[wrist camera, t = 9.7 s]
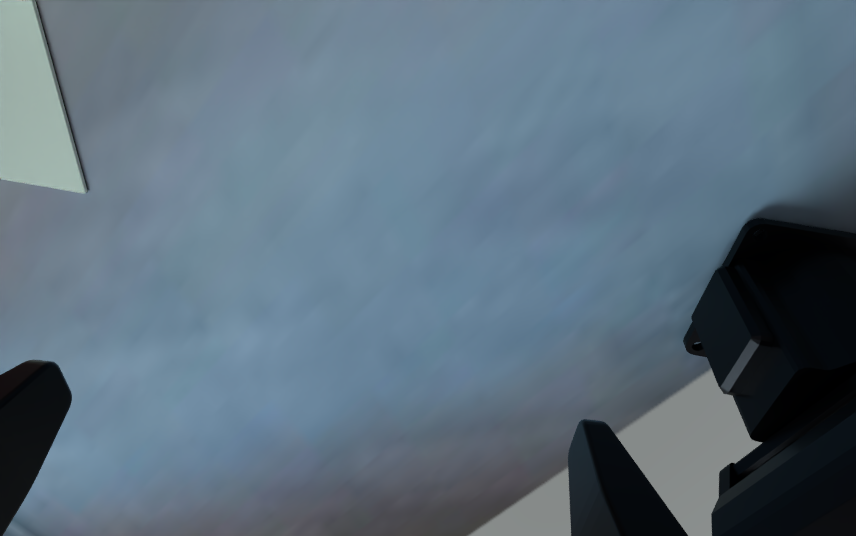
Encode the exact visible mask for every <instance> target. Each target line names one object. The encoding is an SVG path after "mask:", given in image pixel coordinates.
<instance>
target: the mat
mask: <svg viewBox="0 0 856 536" xmlns="http://www.w3.org/2000/svg"><path fill="white" fill-rule="evenodd" d="M0 179H3V180H9V181H15V182H20V183H26V184H32V185H38V186H43V187H49V188H55V189H61V190H67V191H72V192H78V193H84V194H86V193H87V192H88V191H87V187H86V184H85V180H84V176H83V173H82V169H81V165H80V162H79V158H78V154H77V151H76V147H75V144H74V140H73V136H72V133H71V129H70V125H69V122H68V118H67V114H66V111H65V107H64V103H63V100H62V96H61V93H60V89H59V85H58V82H57V78H56V74H55V71H54V67H53V63H52V60H51V56H50V52H49V49H48V45H47V41H46V38H45V34H44V31H43V27H42V23H41V20H40V16H39V12H38V9H37V5H36V1H35V0H26V1H17V0H0Z"/></svg>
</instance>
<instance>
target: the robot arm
mask: <svg viewBox="0 0 856 536" xmlns="http://www.w3.org/2000/svg"><path fill="white" fill-rule="evenodd" d="M758 230H763V232H762V233H761V234H760V235H758V236H753V234H754V233H755V232H756V231H758ZM692 321H693V322H692V324H691V326H690V328H689V329H688V331H687V333H686V335H685V337H684V340H683V342H684V345H685V348H686V350H687V352H689V353H690V354H693V355H698V356H703V357H707V358H708V361H709V363H710V366H711V368H712V371H713V373H714V376H715V378H716V381H717V383H718V386H719V387H720V389H721V390H722V391H723V393H724V394H729V395H733V397H734V400H735V402H736V405H737V407H738V409H739V412H740V414H741V416H742V419H743V421H744V423H745V426H746V428H747V431H748V433H749V435H750V437H751V439H752V440H755V441H758V442H763V443H762V444H761V445H759V446H758V447H757V448H755V449H754V450H753V451H752V452H750V453H749V454H748V455H746V456H745V457H743V458H742V459H741V460H740V461H738V462H737V463H736V464H735V463H730V464H729V465H727V466H726V467H725V468H724V469H722V470H721V471H720V473H719V499H718V501H717V503H716V505H715V508H714V510H713V512H712V536H856V234H853V233H847V232H841V231H835V230H829V229H823V228H817V227H811V226H805V225H799V224H793V223H787V222H781V221H775V220H769V219H763V218H756V219H753V220H750V221H749V222H747V223H746V224H745V225H744V226H743V228H742V229H741V231H740V233H739V235H738V237H737V239H736V241H735V243H734V245H733V246H732V248H731V250H730V252H729V254H728V256H727V258H726V260H725V262H724V263H723V265H722V266H721V267H720V268H718V269H717V270H716V271H715V273H714V274H713V276H712V278H711V280H710V282H709V284H708V286H707V288H706V290H705V292H704V294H703V295H702V297H701V299H700V301H699V303H698V305H697V307H696V309H695V311H694V313H693V314H692ZM696 342H701V343H699V344H694V343H696ZM71 401H72V394H71V391H70V389H69V387H68V384H67V382H66V380H65V378H64V376H63V374H62V372H61V370H60V368H59V366H58V365H57V364H56V363H54V362H51V361H42V360H29V361H26V362H24V363H22V364H20V365H18V366H16V367H14V368H12V369H11V370H9V371H7V372H5V373H3V374H1V375H0V536H3V534H4V532H5V531H6V529H7V527H8V526H9V524H10V522H11V521H12V519H13V517H14V516H15V514H16V513H17V511H18V509H19V508H20V506H21V504H22V503H23V501H24V499H25V497H26V496H27V494H28V492H29V490H30V489H31V487H32V485H33V483H34V481H35V479H36V477H37V475H38V473H39V471H40V469H41V467H42V465H43V462H44V460H45V458H46V456H47V454H48V452H49V450H50V448H51V446H52V444H53V441H54V439H55V437H56V435H57V433H58V431H59V429H60V427H61V425H62V423H63V420H64V418H65V416H66V414H67V412H68V410H69V408H70V405H71ZM568 470H569V491H570V514H571V536H688V535H687V533H686V532H685V531H684V530H683V528H682V527H681V525H680V524H679V523H678V521H677V520H676V518H675V517H674V516H673V514H672V513H671V512H670V510H669V509H668V508H667V506H666V504H665V503H664V502H663V500H662V499H661V498H660V496H659V495H658V494H657V492H656V491H655V489H654V488H653V487H652V485H651V484H650V482H649V481H648V480H647V478H646V477H645V475H644V474H643V473H642V471H641V470H640V468H639V467H638V466H637V464H636V463H635V462H634V460H633V459H632V457H631V456H630V455H629V453H628V452H627V451H626V449H625V448H624V446H623V445H622V444H621V442H620V441H619V440H618V438H617V437H616V435H615V434H614V432H613V431H612V430H611V428H610V427H609V426H608V425H607V424H606V423H605V422H602V421H596V420H587V419H583V420H581V421H580V422H579V424H578V426H577V429H576V432H575V434H574V437H573V440H572V443H571V446H570V449H569V455H568Z"/></svg>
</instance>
